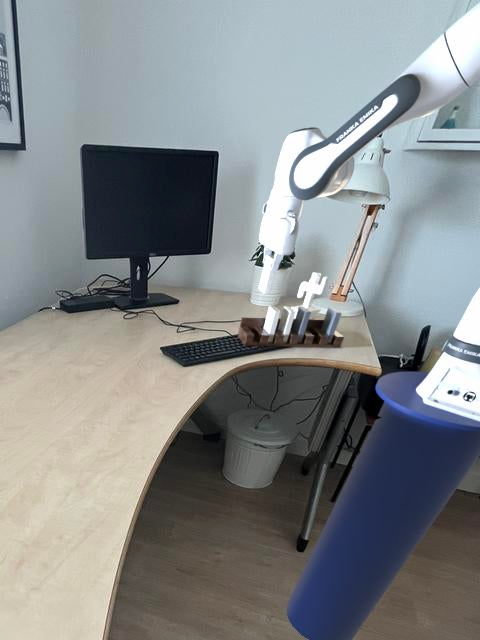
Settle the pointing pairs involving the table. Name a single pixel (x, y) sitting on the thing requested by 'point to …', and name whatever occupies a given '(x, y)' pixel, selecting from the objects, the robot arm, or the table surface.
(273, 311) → the white book
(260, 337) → the book rack
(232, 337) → the table surface
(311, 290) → the figurine
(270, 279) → the white book
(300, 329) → the grey book
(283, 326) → the white book
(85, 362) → the table surface
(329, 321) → the grey book
